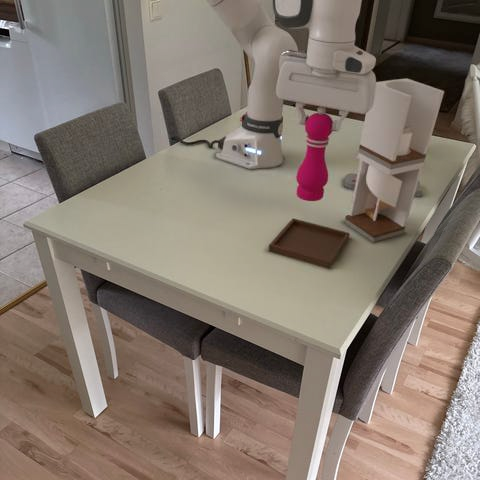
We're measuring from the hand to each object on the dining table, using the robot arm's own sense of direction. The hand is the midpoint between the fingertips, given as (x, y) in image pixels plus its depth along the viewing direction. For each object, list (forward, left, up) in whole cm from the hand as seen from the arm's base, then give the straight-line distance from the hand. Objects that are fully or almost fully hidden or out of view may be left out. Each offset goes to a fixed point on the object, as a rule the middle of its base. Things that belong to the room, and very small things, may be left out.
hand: (319, 127), depth 104 cm
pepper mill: (0, 0, -16) cm, 16 cm away
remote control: (+10, +44, -29) cm, 54 cm away
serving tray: (+2, 0, -29) cm, 29 cm away
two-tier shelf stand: (+14, +17, -29) cm, 36 cm away
